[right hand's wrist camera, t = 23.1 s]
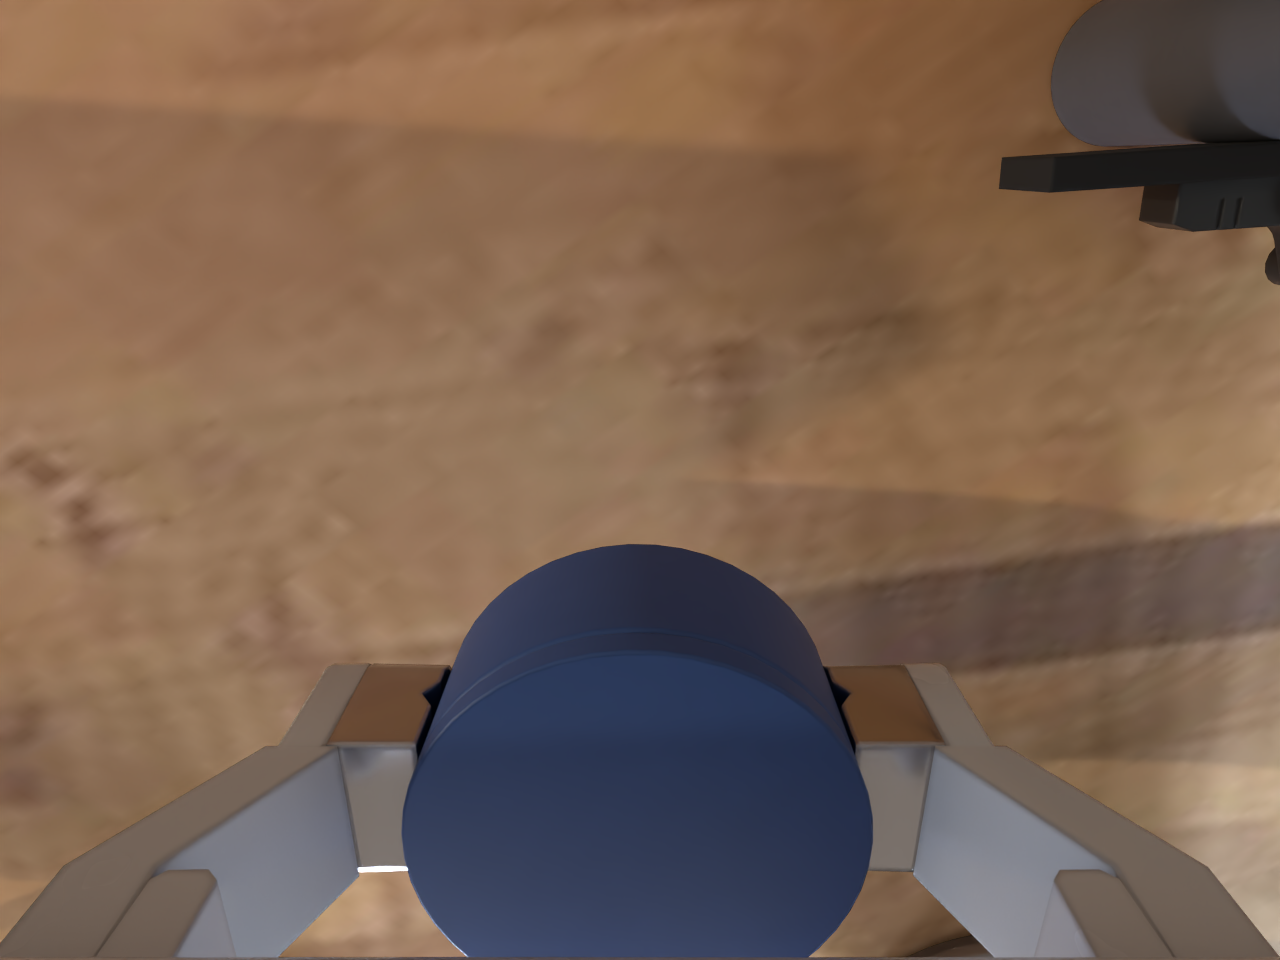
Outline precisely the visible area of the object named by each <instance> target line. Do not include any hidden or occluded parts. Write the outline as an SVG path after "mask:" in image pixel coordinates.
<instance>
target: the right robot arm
mask: <svg viewBox="0 0 1280 960" xmlns="http://www.w3.org/2000/svg"><path fill="white" fill-rule="evenodd" d="M823 668H824V671H825V674H826V676H827V679H828V682H829V685H830V688H831V690H832V693H833V696H834V699H835V701H836V704H837V707H838V710H839V713H840V715H841V718H842V721H843V724H844V727H845V729H846V732H847V735H848V738H849V740H850V743H851V746H852V749H853V752H854V754H855V757H856V760H857V763H858V765H859V768H860V771H861V774H862V777H863V779H864V782H865V785H866V788H867V790H868V793H869V798H870V804H871V809H872V815H873V845H872V852H871V858H870V864H869V868H868V871H901V872H914V873H913V876H914V877H915V878H916V879H917V880H918V881H919V882H920V883H921V884H922V885H923V886H924V887H925V888H926V889H927V890H928V891H929V892H930V893H931V894H932V895H933V896H934V897H935V898H936V899H937V900H938V901H939V902H940V903H941V904H942V905H943V906H944V907H945V908H946V909H947V910H948V911H949V912H950V913H951V914H952V915H953V916H954V917H955V918H956V919H957V920H958V921H959V922H960V923H961V924H962V925H963V926H964V927H965V928H966V929H967V930H968V931H969V932H970V933H971V934H972V935H973V936H974V937H975V938H976V939H977V940H978V941H979V942H980V943H981V944H982V945H983V946H984V947H985V948H986V949H987V950H988V951H989V952H990V953H991V954H992V955H993V956H994V957H278V956H279V955H280V954H281V953H282V952H283V951H284V950H285V949H286V948H287V947H288V946H289V945H290V944H291V943H292V942H293V941H294V940H295V939H296V938H297V937H298V936H299V935H300V934H301V933H302V932H303V931H304V930H305V929H306V928H307V927H308V926H309V925H310V924H311V923H312V922H313V921H314V920H315V919H316V918H318V917H319V916H320V915H321V914H322V913H323V912H324V911H325V910H326V909H327V908H328V907H329V906H330V905H331V904H332V903H333V902H334V901H335V900H336V899H337V898H338V897H339V896H340V895H341V894H342V893H343V892H344V891H345V890H346V889H347V888H348V887H349V886H350V885H351V884H352V883H353V882H354V881H355V880H356V879H357V878H358V877H359V872H371V871H406V870H407V866H406V863H405V859H404V852H403V843H402V834H401V831H402V814H403V806H404V802H405V798H406V793H407V789H408V785H409V782H410V780H411V777H412V774H413V772H414V769H415V767H416V764H417V762H418V758H419V756H420V753H421V750H422V748H423V745H424V742H425V740H426V737H427V734H428V732H429V729H430V726H431V724H432V721H433V718H434V716H435V713H436V710H437V708H438V705H439V702H440V700H441V697H442V694H443V692H444V689H445V686H446V684H447V681H448V678H449V676H450V673H451V670H452V668H451V667H450V665H417V664H373V665H372V664H369V663H345V664H333V665H331V666H329V667H327V668H326V669H325V671H324V672H323V674H322V676H321V677H320V679H319V680H318V682H317V684H316V685H315V687H314V689H313V690H312V692H311V693H310V695H309V697H308V698H307V700H306V701H305V703H304V705H303V706H302V708H301V709H300V711H299V713H298V714H297V716H296V718H295V719H294V721H293V722H292V724H291V726H290V727H289V729H288V730H287V732H286V734H285V735H284V737H283V738H282V740H281V742H280V743H279V745H278V746H265V747H263V748H262V749H260V750H258V751H257V752H255V753H253V754H252V755H250V756H248V757H246V758H245V759H243V760H241V761H240V762H238V763H236V764H235V765H233V766H231V767H230V768H228V769H226V770H225V771H223V772H221V773H219V774H218V775H216V776H214V777H213V778H211V779H209V780H208V781H206V782H204V783H203V784H201V785H199V786H198V787H196V788H194V789H192V790H191V791H189V792H187V793H186V794H184V795H182V796H181V797H179V798H177V799H176V800H174V801H172V802H171V803H169V804H167V805H165V806H164V807H162V808H160V809H159V810H157V811H155V812H154V813H152V814H150V815H149V816H147V817H145V818H143V819H142V820H140V821H138V822H137V823H135V824H133V825H132V826H130V827H128V828H127V829H125V830H123V831H122V832H120V833H118V834H116V835H115V836H113V837H111V838H110V839H108V840H106V841H105V842H103V843H101V844H100V845H98V846H96V847H95V848H93V849H91V850H89V851H88V852H86V853H84V854H83V855H81V856H79V857H78V858H76V859H74V860H73V861H71V862H69V863H68V864H66V865H64V866H63V867H62V868H61V870H60V871H59V872H58V873H57V875H56V876H55V877H54V878H53V879H52V881H51V882H50V883H49V884H48V886H47V887H46V888H45V889H44V890H43V892H42V893H41V894H40V895H39V897H38V898H37V899H36V900H35V901H34V903H33V904H32V905H31V906H30V908H29V909H28V910H27V911H26V912H25V914H24V915H23V916H22V917H21V919H20V920H19V921H18V922H17V923H16V925H15V926H14V927H13V928H12V930H11V931H10V932H9V933H8V934H7V936H6V937H5V938H4V939H3V941H2V942H1V943H0V960H1280V957H1279V956H1278V954H1277V953H1276V952H1275V951H1274V949H1273V948H1272V947H1271V946H1270V944H1269V943H1268V942H1267V940H1266V939H1265V938H1264V937H1263V935H1262V934H1261V933H1260V932H1259V930H1258V929H1257V928H1256V927H1255V925H1254V924H1253V923H1252V922H1251V920H1250V919H1249V918H1248V917H1247V915H1246V914H1245V913H1244V912H1243V910H1242V909H1241V908H1240V907H1239V905H1238V904H1237V903H1236V902H1235V900H1234V899H1233V898H1232V897H1231V895H1230V894H1229V893H1228V892H1227V890H1226V889H1225V888H1224V887H1223V885H1222V884H1221V883H1220V882H1219V880H1218V879H1217V878H1216V877H1215V875H1214V874H1213V873H1212V872H1211V870H1210V869H1209V868H1208V867H1207V866H1205V865H1204V864H1202V863H1200V862H1199V861H1197V860H1195V859H1194V858H1192V857H1190V856H1189V855H1187V854H1185V853H1184V852H1182V851H1180V850H1179V849H1177V848H1175V847H1174V846H1172V845H1170V844H1169V843H1167V842H1165V841H1164V840H1162V839H1160V838H1159V837H1157V836H1155V835H1154V834H1152V833H1150V832H1149V831H1147V830H1145V829H1144V828H1142V827H1140V826H1139V825H1137V824H1135V823H1134V822H1132V821H1130V820H1129V819H1127V818H1125V817H1124V816H1122V815H1120V814H1119V813H1117V812H1115V811H1114V810H1112V809H1110V808H1109V807H1107V806H1105V805H1104V804H1102V803H1100V802H1099V801H1097V800H1095V799H1094V798H1092V797H1090V796H1089V795H1087V794H1085V793H1084V792H1082V791H1080V790H1079V789H1077V788H1075V787H1074V786H1072V785H1070V784H1069V783H1067V782H1065V781H1064V780H1062V779H1060V778H1059V777H1057V776H1055V775H1054V774H1052V773H1050V772H1049V771H1047V770H1045V769H1044V768H1042V767H1040V766H1039V765H1037V764H1035V763H1034V762H1032V761H1030V760H1029V759H1027V758H1025V757H1024V756H1022V755H1020V754H1019V753H1017V752H1015V751H1014V750H1012V749H1010V748H1009V747H1007V746H994V745H993V743H992V742H991V740H990V739H989V737H988V735H987V734H986V732H985V730H984V729H983V727H982V726H981V724H980V722H979V721H978V719H977V717H976V716H975V714H974V713H973V711H972V709H971V708H970V706H969V704H968V703H967V701H966V699H965V698H964V696H963V695H962V693H961V691H960V690H959V688H958V686H957V685H956V683H955V682H954V680H953V678H952V677H951V675H950V673H949V672H948V670H947V669H946V667H945V666H943V665H942V664H940V663H921V664H900V665H869V666H823Z"/></svg>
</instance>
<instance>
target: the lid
mask: <svg viewBox="0 0 1280 960" xmlns="http://www.w3.org/2000/svg"><path fill="white" fill-rule="evenodd" d="M401 834H402V843H403V852H404V859H405V863H406V866H407V870H408V873H409V877H410V880H411V883H412V885H413V887H414V889H415V892H416V894H417V896H418V898H419V900H420V902H421V904H422V906H423V907H424V909H425V910H426V912H427V913H428V915H429V916H430V918H431V919H432V921H433V922H434V924H435V925H436V926H437V927H438V928H439V929H440V931H441V932H442V933H443V934H444V935H445V936H446V937H447V939H448V940H449V941H450V942H451V943H452V944H453V945H454V946H456V947H457V948H458V949H459V950H460V951H461V952H462V953H464V954H465V955H466V956H467V957H809V956H810V955H811V954H812V953H814V952H815V951H816V950H817V949H819V948H820V947H821V945H822V944H823V943H824V942H825V941H826V940H827V939H828V938H829V937H830V936H831V935H832V934H833V933H834V932H835V931H836V930H837V928H838V927H839V925H840V924H841V923H842V921H843V920H844V919H845V917H846V916H847V914H848V913H849V912H850V910H851V908H852V906H853V904H854V903H855V901H856V899H857V897H858V895H859V893H860V891H861V889H862V886H863V883H864V880H865V877H866V874H867V871H868V868H869V864H870V858H871V852H872V845H873V815H872V809H871V804H870V798H869V793H868V790H867V788H866V785H865V782H864V779H863V777H862V774H861V771H860V768H859V765H858V763H857V760H856V757H855V754H854V752H853V749H852V746H851V743H850V740H849V738H848V735H847V732H846V729H845V727H844V724H843V721H842V718H841V715H840V713H839V710H838V707H837V704H836V701H835V699H834V696H833V693H832V690H831V688H830V685H829V682H828V679H827V676H826V674H825V671H824V668H823V665H822V663H821V660H820V657H819V654H818V652H817V649H816V646H815V644H814V642H813V641H812V639H811V637H810V635H809V633H808V632H807V630H806V628H805V626H804V625H803V624H802V622H801V621H800V620H799V619H798V617H797V616H796V615H795V613H794V612H793V611H792V609H791V608H790V607H789V606H788V605H787V604H786V603H785V602H784V601H783V600H782V599H781V598H780V597H779V596H778V595H777V594H775V593H774V592H773V591H772V590H771V589H769V588H768V587H767V586H765V585H764V584H762V583H761V582H760V581H758V580H757V579H756V578H754V577H753V576H751V575H749V574H747V573H745V572H744V571H742V570H740V569H738V568H736V567H735V566H733V565H731V564H728V563H726V562H723V561H721V560H718V559H716V558H713V557H711V556H708V555H705V554H701V553H697V552H694V551H690V550H686V549H682V548H676V547H668V546H661V545H644V544H626V545H616V546H606V547H600V548H595V549H591V550H586V551H582V552H577V553H574V554H571V555H569V556H566V557H563V558H560V559H557V560H554V561H552V562H550V563H548V564H546V565H544V566H542V567H540V568H538V569H536V570H534V571H532V572H530V573H528V574H527V575H525V576H524V577H522V578H521V579H519V580H518V581H516V582H515V583H513V584H512V585H510V586H509V587H508V588H506V589H505V590H504V591H503V592H502V593H501V594H500V595H499V596H498V597H496V598H495V599H494V600H493V601H492V602H491V603H490V604H489V605H488V606H487V608H486V609H485V610H484V611H483V612H482V614H481V615H480V616H479V617H478V618H477V620H476V621H475V622H474V624H473V626H472V627H471V629H470V631H469V632H468V634H467V635H466V637H465V639H464V641H463V643H462V645H461V648H460V650H459V653H458V655H457V657H456V660H455V662H454V665H453V668H452V670H451V673H450V676H449V678H448V681H447V684H446V686H445V689H444V692H443V694H442V697H441V700H440V702H439V705H438V708H437V710H436V713H435V716H434V718H433V721H432V724H431V726H430V729H429V732H428V734H427V737H426V740H425V742H424V745H423V748H422V750H421V753H420V756H419V758H418V762H417V764H416V767H415V769H414V772H413V774H412V777H411V780H410V782H409V785H408V789H407V793H406V798H405V802H404V806H403V814H402V831H401Z"/></svg>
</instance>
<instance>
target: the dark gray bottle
mask: <svg viewBox="0 0 1280 960" xmlns="http://www.w3.org/2000/svg"><path fill="white" fill-rule="evenodd" d="M1051 92H1052V100H1053V104H1054V108H1055V110H1056V113H1057V115H1058V117H1059V119H1060V121H1061V122H1062V124H1063V125H1064V126H1065V128H1066V129H1067V130H1068V131H1069V132H1070V133H1071V134H1072V135H1074V136H1075V137H1077V138H1078V139H1080V140H1082V141H1084V142H1086V143H1089V144H1092V145H1097V146H1134V145H1165V144H1196V143H1225V142H1256V141H1280V0H1102V1H1101V2H1099V3H1097V4H1096V5H1094V6H1093V7H1092V8H1090V9H1089V10H1088V11H1086V12H1085V13H1084V14H1083V15H1082V16H1081V17H1080V18H1079V19H1078V20H1077V21H1076V23H1075V24H1074V25H1073V26H1072V27H1071V29H1070V30H1069V32H1068V33H1067V35H1066V36H1065V38H1064V40H1063V42H1062V44H1061V46H1060V48H1059V50H1058V53H1057V55H1056V58H1055V62H1054V65H1053V70H1052V77H1051Z"/></svg>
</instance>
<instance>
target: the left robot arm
mask: <svg viewBox="0 0 1280 960" xmlns="http://www.w3.org/2000/svg"><path fill="white" fill-rule="evenodd" d="M1137 186H1144V191H1143V198H1142V204H1141V211H1140V217H1139V220H1140V221H1142V222H1145V223H1148V224H1150V225H1153V226H1156V227H1160V228H1168V229H1176V230H1184V231H1192V232H1194V231H1209V230H1223V229H1238V228H1253V227H1268V228H1269V229H1270V231H1271V232H1272V234H1273V238H1274V242H1275V248H1274V249H1273V251H1272V252H1271V253H1270V254H1269V256H1268V258H1267V261H1266V263H1265V273H1266V275H1267V278H1268V279H1269V280H1270V281H1271V282H1272V283H1274V284H1278V285H1280V141H1256V142H1225V143H1204V144H1190V145H1175V146H1161V147H1147V148H1132V149H1118V150H1103V151H1089V152H1075V153H1060V154H1046V155H1032V156H1017V157H1003V158H1002V162H1001V173H1000V184H999V189H1008V190H1022V191H1035V192H1049V193H1050V192H1065V191H1079V190H1094V189H1108V188H1123V187H1137ZM908 957H994V956H993V955H992V954H991V953H990V952H989V951H988V950H987V949H986V948H985V947H984V946H983V945H982V944H981V943H980V942H979V941H978V940H977V939H976V938H975V937H974V936H973V935H971V936H966V937H962V938H958V939H953V940H950V941H947V942H943V943H940V944H937V945H934V946H932V947H929V948H926V949H924V950H921V951H919V952H917V953H915V954H913V955H911V956H908Z"/></svg>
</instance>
